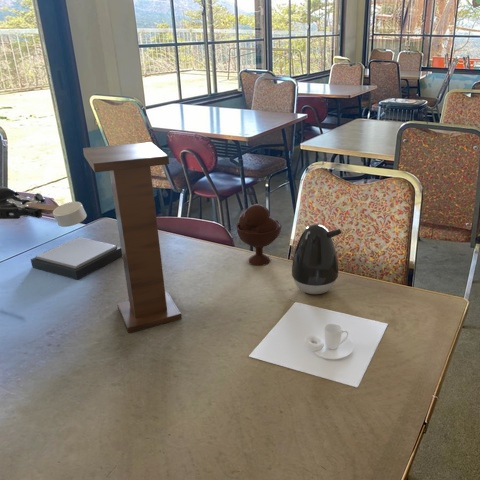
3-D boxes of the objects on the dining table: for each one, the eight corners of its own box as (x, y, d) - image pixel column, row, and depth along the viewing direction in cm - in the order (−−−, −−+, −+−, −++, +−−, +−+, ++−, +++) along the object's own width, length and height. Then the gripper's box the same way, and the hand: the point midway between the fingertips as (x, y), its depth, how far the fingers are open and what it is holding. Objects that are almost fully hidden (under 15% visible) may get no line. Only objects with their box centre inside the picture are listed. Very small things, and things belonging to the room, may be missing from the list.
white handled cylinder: (18, 220, 114) (12, 209, 113) (40, 207, 119) (34, 196, 118) (72, 228, 108) (66, 216, 106) (92, 213, 113) (87, 202, 111)
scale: (30, 267, 112) (28, 256, 111) (79, 245, 124) (77, 234, 123) (77, 279, 107) (75, 268, 106) (123, 255, 119) (121, 244, 118)
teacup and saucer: (299, 353, 85) (299, 334, 83) (315, 329, 92) (316, 311, 90) (345, 366, 82) (347, 346, 80) (359, 340, 89) (361, 322, 87)
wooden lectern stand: (109, 301, 99) (82, 148, 86) (167, 287, 105) (150, 142, 92) (122, 334, 89) (94, 165, 76) (186, 317, 95) (170, 157, 82)
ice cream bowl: (289, 263, 117) (289, 205, 111) (248, 274, 112) (246, 214, 105) (268, 248, 125) (268, 193, 119) (229, 257, 119) (226, 200, 113)
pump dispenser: (339, 301, 102) (342, 235, 96) (290, 299, 102) (290, 233, 96) (337, 278, 111) (340, 217, 105) (293, 277, 111) (293, 215, 105)
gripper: (22, 206, 127) (72, 217, 121) (-30, 223, 115) (22, 236, 109) (16, 178, 124) (66, 188, 118) (-38, 193, 112) (14, 205, 106)
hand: (45, 211), depth 114 cm, fingers closed on white handled cylinder, 2 cm apart
